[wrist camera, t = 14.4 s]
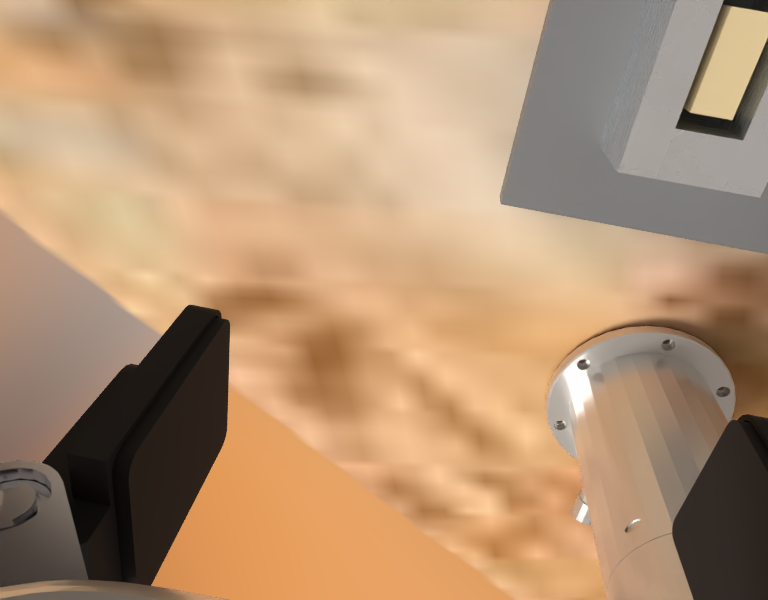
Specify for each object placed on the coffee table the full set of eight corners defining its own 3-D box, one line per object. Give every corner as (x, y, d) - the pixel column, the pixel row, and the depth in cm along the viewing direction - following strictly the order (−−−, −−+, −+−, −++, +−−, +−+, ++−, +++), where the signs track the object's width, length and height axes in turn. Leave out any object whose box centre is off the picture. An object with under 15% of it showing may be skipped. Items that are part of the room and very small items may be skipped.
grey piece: (757, 243, 38) (802, 289, 33) (499, 195, 39) (503, 232, 33) (955, -155, 28) (1065, -180, 23) (604, -211, 29) (633, -249, 23)
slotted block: (724, 167, 35) (760, 197, 30) (599, 145, 35) (617, 172, 30) (821, -58, 29) (882, -61, 25) (672, -82, 29) (707, -89, 25)
